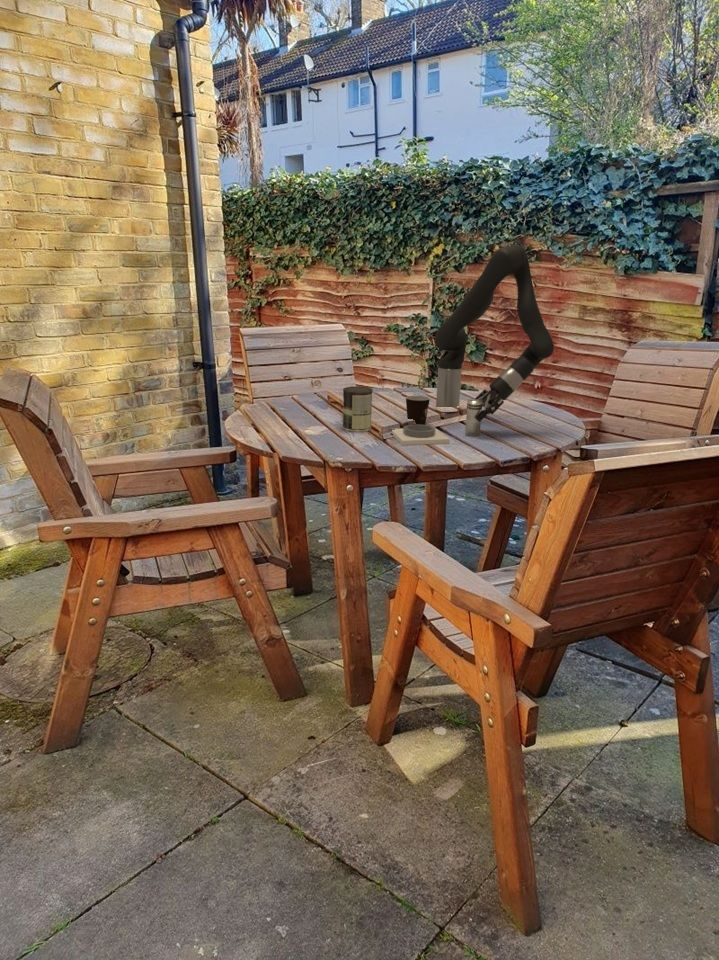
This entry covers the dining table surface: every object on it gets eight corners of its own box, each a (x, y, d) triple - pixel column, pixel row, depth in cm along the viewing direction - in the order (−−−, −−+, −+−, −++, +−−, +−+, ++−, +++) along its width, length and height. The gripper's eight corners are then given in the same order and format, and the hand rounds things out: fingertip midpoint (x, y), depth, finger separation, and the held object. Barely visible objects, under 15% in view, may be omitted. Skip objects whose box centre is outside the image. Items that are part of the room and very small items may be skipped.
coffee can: (337, 430, 237) (338, 390, 232) (349, 423, 246) (349, 385, 241) (365, 433, 233) (366, 392, 229) (375, 426, 242) (376, 387, 238)
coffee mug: (416, 429, 240) (417, 401, 237) (399, 424, 247) (400, 397, 244) (439, 424, 248) (440, 397, 244) (422, 420, 254) (423, 393, 251)
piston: (462, 433, 236) (465, 399, 232) (476, 432, 237) (479, 399, 233) (468, 437, 231) (470, 402, 228) (482, 436, 232) (485, 402, 229)
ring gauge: (390, 433, 234) (390, 423, 233) (434, 431, 237) (434, 421, 236) (402, 445, 219) (402, 434, 218) (449, 443, 223) (449, 433, 221)
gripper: (491, 372, 236) (458, 405, 237) (508, 379, 223) (473, 414, 224) (504, 387, 239) (471, 419, 240) (522, 394, 226) (487, 429, 227)
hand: (472, 417), depth 232 cm, fingers open, 8 cm apart
